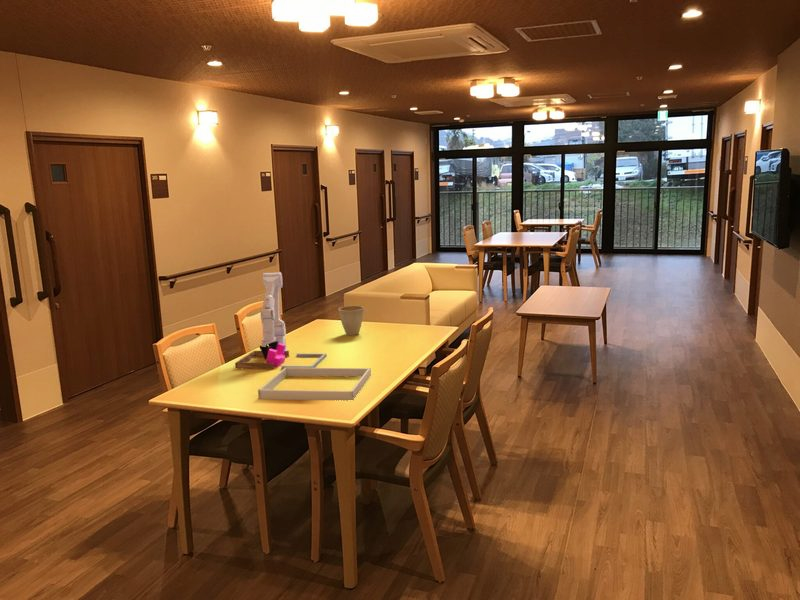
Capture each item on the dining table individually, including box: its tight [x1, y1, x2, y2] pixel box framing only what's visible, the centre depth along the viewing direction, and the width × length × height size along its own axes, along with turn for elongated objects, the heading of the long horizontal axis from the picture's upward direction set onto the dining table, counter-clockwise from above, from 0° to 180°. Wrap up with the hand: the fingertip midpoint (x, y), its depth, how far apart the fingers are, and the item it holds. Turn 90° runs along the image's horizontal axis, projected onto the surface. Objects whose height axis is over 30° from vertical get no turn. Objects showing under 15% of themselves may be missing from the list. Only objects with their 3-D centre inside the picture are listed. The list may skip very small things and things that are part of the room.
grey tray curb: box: [257, 367, 372, 402], centre depth 287 cm, size 33×42×4 cm
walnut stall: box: [234, 350, 290, 370], centre depth 331 cm, size 23×20×3 cm
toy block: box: [265, 343, 287, 368], centre depth 328 cm, size 15×6×8 cm, turn 170°
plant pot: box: [338, 305, 365, 336], centre depth 381 cm, size 15×15×16 cm
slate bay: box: [280, 352, 328, 370], centre depth 327 cm, size 23×16×2 cm
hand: (269, 357), depth 329 cm, fingers open, 7 cm apart
